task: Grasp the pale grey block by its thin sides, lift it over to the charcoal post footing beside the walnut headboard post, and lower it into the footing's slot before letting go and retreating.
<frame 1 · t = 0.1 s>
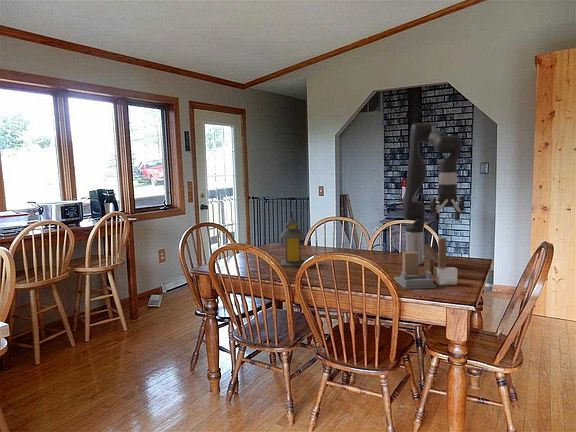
hand: (447, 220, 191), 29 cm above the table, fingers open, 8 cm apart
post footing: (416, 285, 197), on the table
pale grey block: (446, 283, 198), on the table
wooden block: (435, 274, 215), on the table
lantern: (293, 263, 247), on the table
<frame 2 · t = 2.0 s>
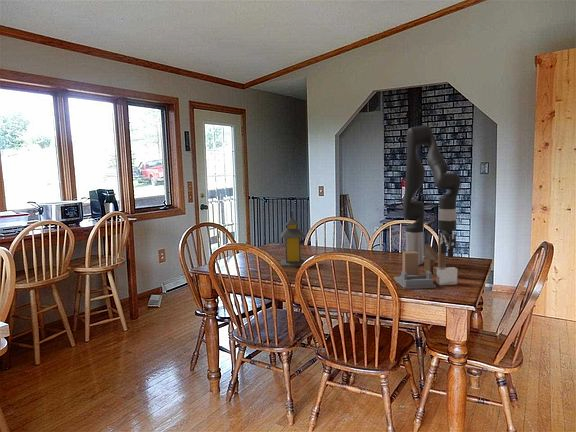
hand: (446, 255, 196), 13 cm above the table, fingers open, 8 cm apart
nothing on the table moved.
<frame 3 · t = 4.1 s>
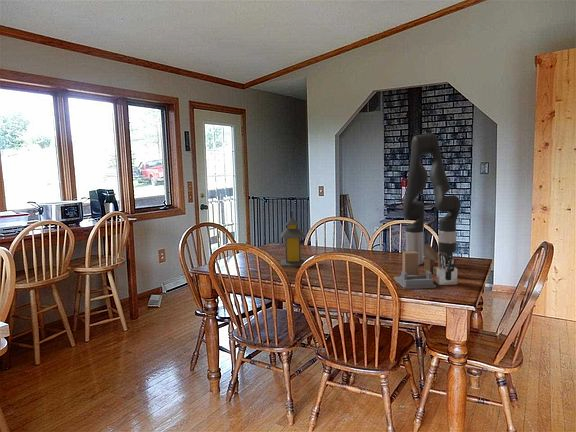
hand: (446, 278, 198), 2 cm above the table, fingers closed on pale grey block, 3 cm apart
pale grey block: (446, 283, 198), on the table, touching gripper
everything else where it was.
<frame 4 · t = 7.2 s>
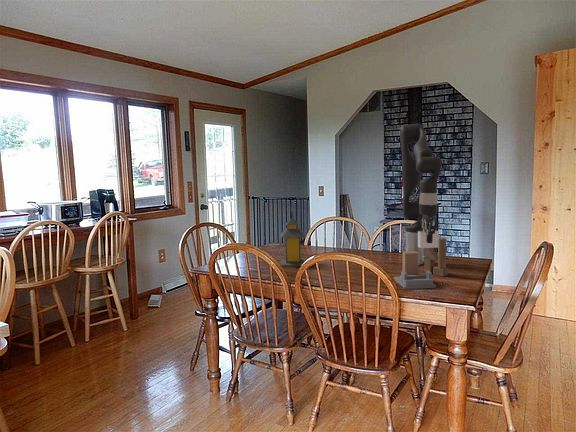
hand: (428, 242, 195), 19 cm above the table, fingers closed on pale grey block, 3 cm apart
pale grey block: (428, 247, 195), point 17 cm above the table, touching gripper
everything else where it was.
when the fingers open (4 cm above the table, at t = 10.6 s): pale grey block stays where it is, resting on post footing.
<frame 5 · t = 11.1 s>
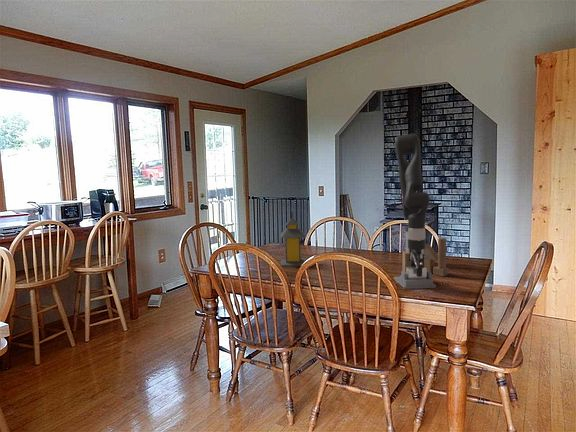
hand: (416, 274, 196), 5 cm above the table, fingers open, 8 cm apart
pale grey block: (416, 283, 197), point 1 cm above the table, touching post footing
everything else where it was.
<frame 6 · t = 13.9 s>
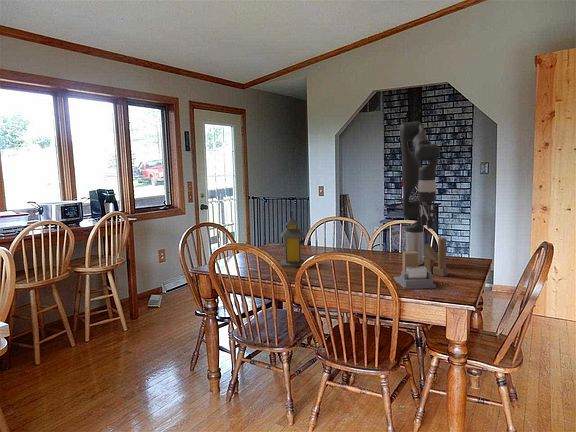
hand: (426, 226, 197), 26 cm above the table, fingers open, 8 cm apart
nothing on the table moved.
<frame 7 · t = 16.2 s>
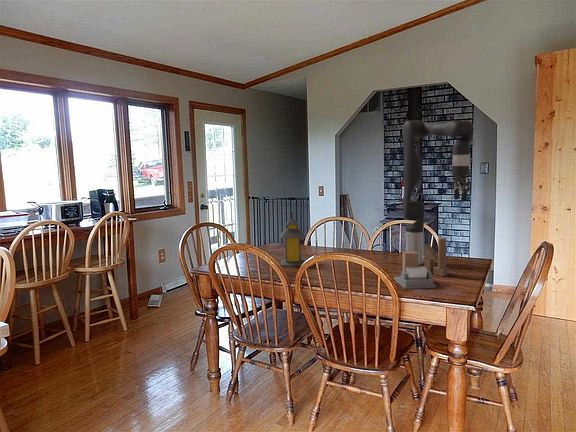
hand: (460, 200, 205), 36 cm above the table, fingers open, 8 cm apart
nothing on the table moved.
at the end: pale grey block 0.0 cm off-centre on the post footing, point 1.0 cm above the post footing's base; pale grey block tilted 0°; the gripper is holding nothing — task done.
